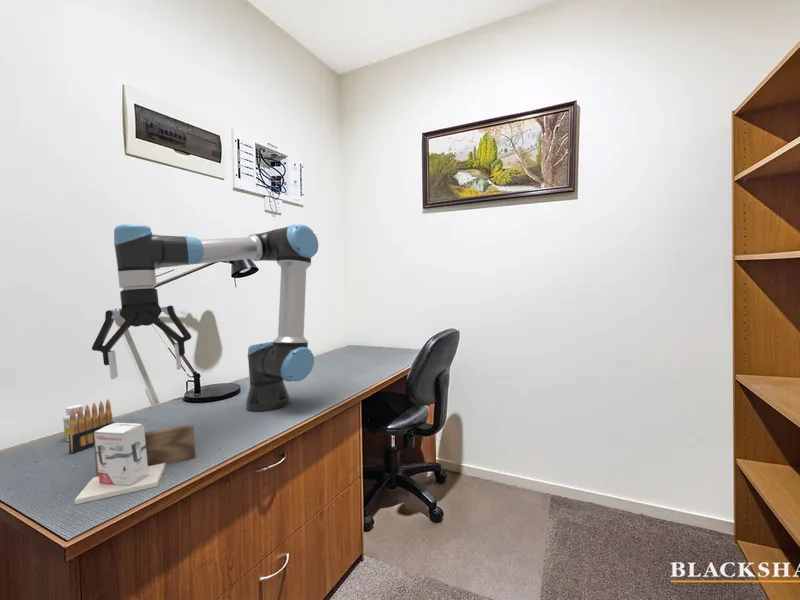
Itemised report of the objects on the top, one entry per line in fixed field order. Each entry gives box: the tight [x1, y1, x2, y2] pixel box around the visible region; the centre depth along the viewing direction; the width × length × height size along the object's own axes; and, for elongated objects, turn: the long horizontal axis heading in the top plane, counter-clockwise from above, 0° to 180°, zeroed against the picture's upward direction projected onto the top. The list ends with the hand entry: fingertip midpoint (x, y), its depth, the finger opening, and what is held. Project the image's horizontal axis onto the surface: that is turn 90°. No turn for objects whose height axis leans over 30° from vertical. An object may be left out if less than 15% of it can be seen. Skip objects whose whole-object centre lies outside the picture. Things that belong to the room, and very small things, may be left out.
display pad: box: [74, 463, 166, 506], centre depth 81 cm, size 14×10×1 cm
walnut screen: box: [93, 424, 197, 477], centre depth 89 cm, size 20×2×8 cm, turn 114°
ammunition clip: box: [68, 399, 115, 455], centre depth 104 cm, size 11×2×12 cm, turn 159°
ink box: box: [94, 422, 149, 485], centre depth 81 cm, size 9×5×12 cm, turn 78°
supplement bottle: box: [63, 404, 85, 442], centre depth 111 cm, size 5×5×10 cm
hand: (147, 373), depth 91 cm, fingers open, 13 cm apart
